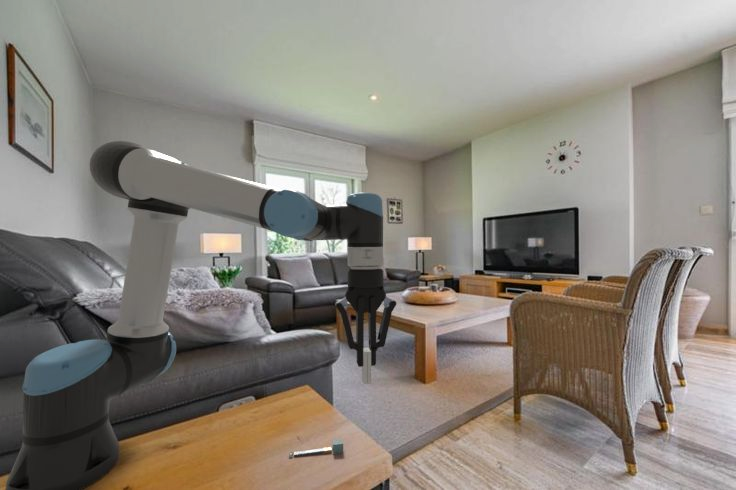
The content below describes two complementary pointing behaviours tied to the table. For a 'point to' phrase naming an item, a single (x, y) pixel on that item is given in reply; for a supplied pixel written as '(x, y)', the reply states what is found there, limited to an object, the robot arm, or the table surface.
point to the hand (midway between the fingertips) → (366, 381)
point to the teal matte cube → (337, 446)
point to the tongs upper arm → (311, 452)
